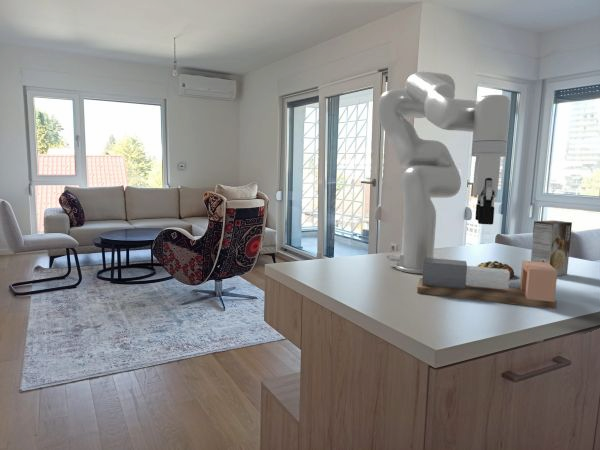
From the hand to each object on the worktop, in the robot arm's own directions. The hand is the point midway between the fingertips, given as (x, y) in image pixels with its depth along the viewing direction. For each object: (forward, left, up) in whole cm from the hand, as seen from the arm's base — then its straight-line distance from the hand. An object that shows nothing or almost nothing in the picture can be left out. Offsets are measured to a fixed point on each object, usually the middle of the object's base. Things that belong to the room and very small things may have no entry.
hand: (483, 222), depth 102 cm
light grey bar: (-3, 0, -15) cm, 16 cm away
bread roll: (+6, +26, -19) cm, 32 cm away
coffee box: (+22, +34, -18) cm, 44 cm away
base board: (+1, 0, -18) cm, 18 cm away
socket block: (+13, 0, -16) cm, 21 cm away
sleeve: (-8, 0, -16) cm, 18 cm away
